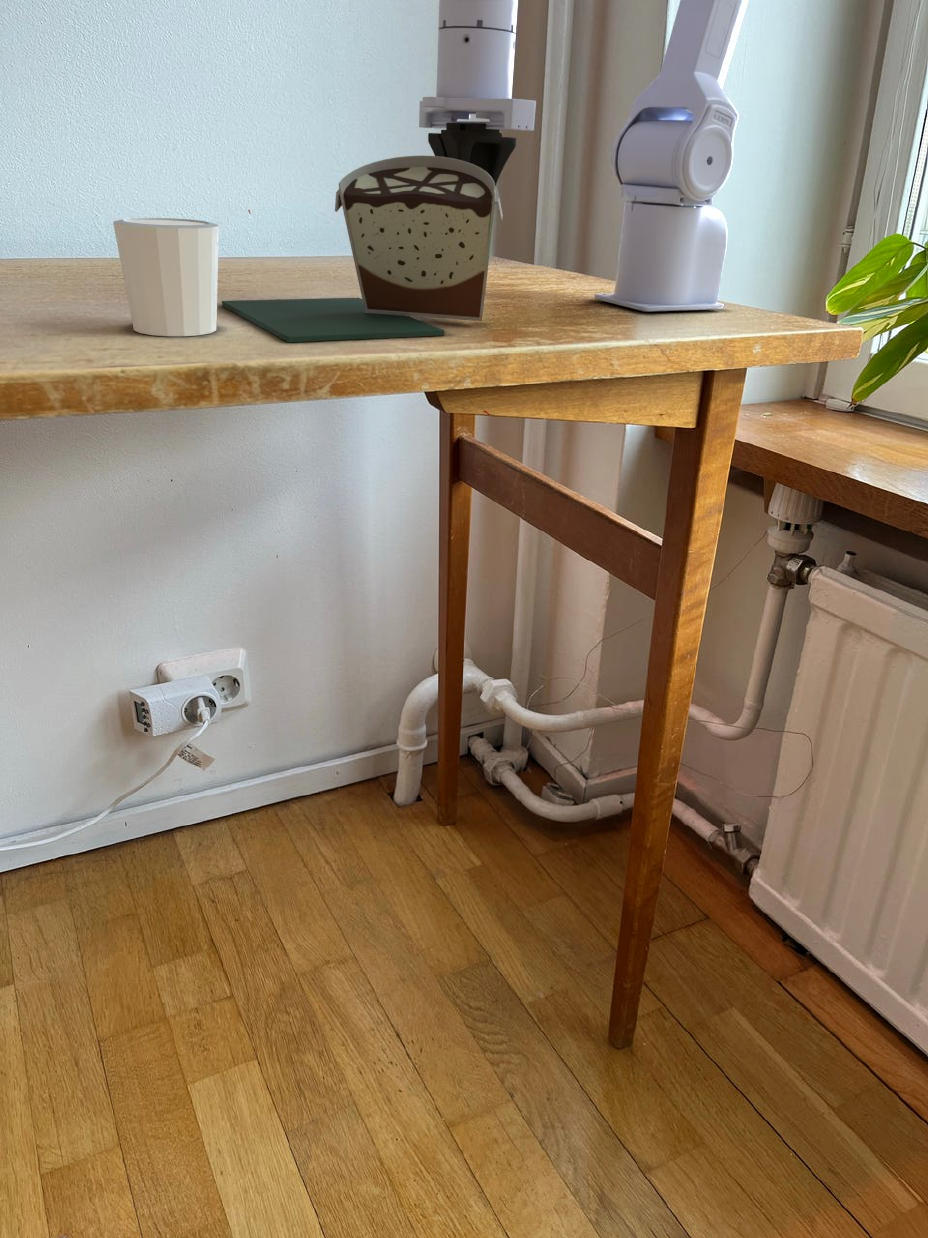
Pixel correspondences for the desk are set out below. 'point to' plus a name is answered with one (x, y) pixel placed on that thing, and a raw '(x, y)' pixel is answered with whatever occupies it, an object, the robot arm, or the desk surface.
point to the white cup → (170, 274)
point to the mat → (327, 320)
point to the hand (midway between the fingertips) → (467, 231)
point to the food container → (420, 235)
